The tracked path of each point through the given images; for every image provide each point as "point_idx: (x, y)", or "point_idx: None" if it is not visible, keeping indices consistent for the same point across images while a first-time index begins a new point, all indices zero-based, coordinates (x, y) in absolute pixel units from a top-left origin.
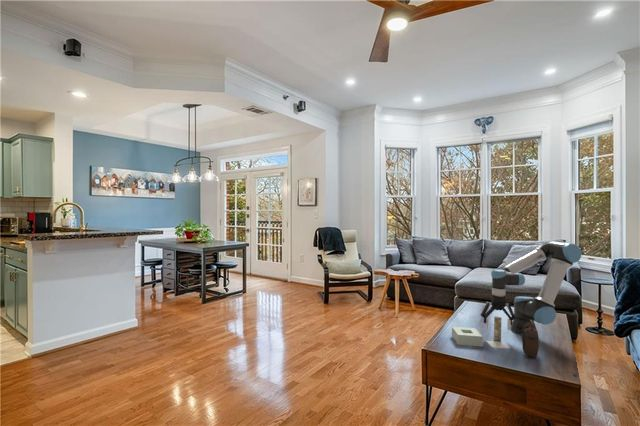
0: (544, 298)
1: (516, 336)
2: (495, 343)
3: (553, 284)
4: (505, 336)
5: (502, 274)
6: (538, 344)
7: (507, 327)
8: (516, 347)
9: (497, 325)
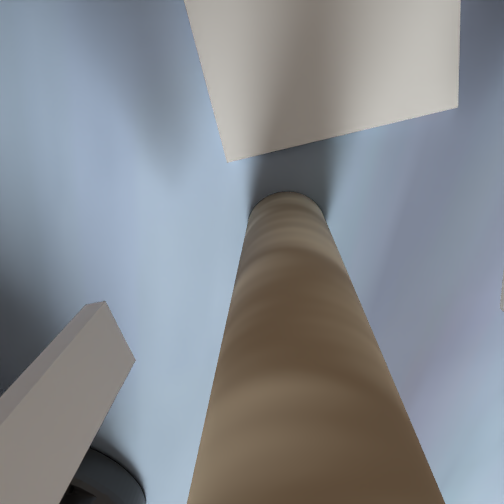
0: None
1: None
2: (346, 36)
3: None
4: (190, 355)
5: None
6: None
7: (120, 378)
8: (77, 35)
9: (321, 304)
